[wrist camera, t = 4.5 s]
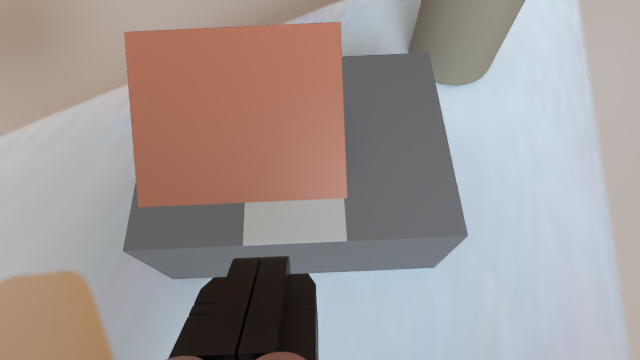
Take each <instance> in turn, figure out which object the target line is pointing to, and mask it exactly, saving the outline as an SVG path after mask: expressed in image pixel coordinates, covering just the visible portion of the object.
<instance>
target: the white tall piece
mask: <svg viewBox="0 0 640 360" xmlns="http://www.w3.org/2000/svg"><path fill="white" fill-rule="evenodd" d="M124 35H125V47H126V48H125V49H126V61H127V74H128V86H129V99H130V111H131V123H132V136H133V148H134V161H135V173H136V186H137V198H138V207H157V206H180V205H203V204H225V203H248V202H270V201H293V200H316V199H338V198H347V179H346V154H345V128H344V103H343V77H342V52H341V27H340V22H331V23H309V24H287V25H266V26H245V27H222V28H200V29H180V30H179V29H178V30H156V31H134V32H124Z"/></svg>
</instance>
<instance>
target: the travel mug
mask: <svg viewBox="0 0 640 360" xmlns="http://www.w3.org/2000/svg"><path fill="white" fill-rule="evenodd" d="M524 2H525V0H422V1H421V5H420V9H419V13H418V17H417V21H416V25H415V29H414V33H413V37H412V41H411V44H410V54H411V53H429V56H430V60H431V65H432V70H433V74H434V79H435V81H436V82H438V83H442V84H447V85H464V84H468V83H471V82H474V81H476V80H478V79H480V78H481V77H482V76H483V75H484V74H485V73H486V72H487V71H488V69H489V67H490V65H491V63H492V62H493V60H494V58H495V56H496V54H497V52H498V50H499V48H500V47H501V45H502V43H503V41H504V39H505V37H506V35H507V34H508V32H509V30H510V28H511V26H512V24H513V22H514V20H515V19H516V17H517V15H518V13H519V11H520V9H521V7H522V6H523V4H524Z"/></svg>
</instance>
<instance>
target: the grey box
mask: <svg viewBox="0 0 640 360" xmlns="http://www.w3.org/2000/svg"><path fill="white" fill-rule="evenodd" d="M342 77H343V103H344V128H345V154H346V179H347V198H338V199H316V200H293V201H270V202H248V203H225V204H203V205H180V206H157V207H138V198H137V186H136V184H135V189H134V195H133V200H132V205H131V211H130V216H129V221H128V227H127V232H126V237H125V243H124V248H123V251H124V252H126V253H127V254H129V255H131V256H133V257H135V258H136V259H138V260H140V261H142V262H144V263H145V264H147V265H149V266H151V267H153V268H154V269H156V270H158V271H160V272H161V273H163V274H165V275H167V276H169V277H170V278H172V279H185V278H208V277H226V276H227V274H228V271H229V268H230V266H231V263H232V261H233V259H234V258H250V257H261V258H262V257H272V256H289V259H290V269H291V274H299V273H322V272H345V271H368V270H391V269H414V268H434V267H435V266H436V265H437V264H438V263H440V262H441V261H442V260H443V259H444V258H445V257H446V256H447V255H448V254H449V253H450V252H451V251H452V250H453V249H454V248H455V247H457V246H458V245H459V244H460V243H461V242H462V241H463V240H464V239H465V238H466V237H467V236H468V235H467V230H466V225H465V221H464V216H463V211H462V206H461V202H460V197H459V192H458V188H457V183H456V178H455V173H454V169H453V164H452V159H451V155H450V150H449V145H448V140H447V136H446V131H445V126H444V122H443V117H442V112H441V107H440V103H439V98H438V93H437V89H436V84H435V79H434V74H433V70H432V65H431V60H430V56H429V53H411V54H389V55H367V56H345V57H342Z"/></svg>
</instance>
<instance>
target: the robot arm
mask: <svg viewBox="0 0 640 360" xmlns="http://www.w3.org/2000/svg"><path fill="white" fill-rule="evenodd" d="M167 360H318V319H317V300H316V284H315V283H314V281H313V280H312V278H311V277H310V276H309V274H308V273H304V274H291V269H290V259H289V256H272V257H262V258H261V257H250V258H234V259H233V261H232V263H231V266H230V268H229V271H228V274H227V276H226V277H214V278H213V279H212V280H210V281H209V282H208V283H207V284H206V285H205V286H204V287H203V288H202V289H201V290H200V292H199V294H198V296H197V298H196V301H195V303H194V306H193V307H192V309H191V311H190V313H189V317H188V318H187V320H186V322H185V324H184V326H183V328H182V330H181V333H180V335H179V337H178V339H177V341H176V343H175V345H174V348H173V350H172V352H171V354H170V356H169V358H168V359H167Z"/></svg>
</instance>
